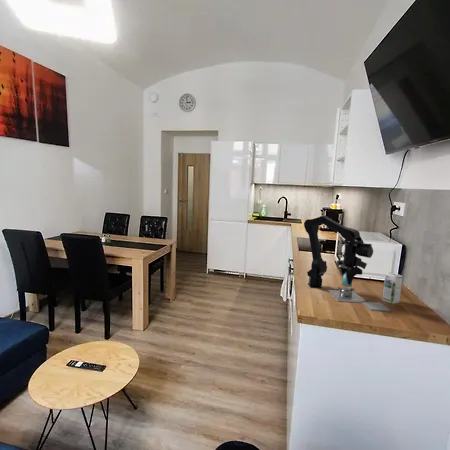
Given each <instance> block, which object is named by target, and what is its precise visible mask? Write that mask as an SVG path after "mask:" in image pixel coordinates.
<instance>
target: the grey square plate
mask: <svg viewBox="0 0 450 450" xmlns="http://www.w3.org/2000/svg"><path fill="white" fill-rule="evenodd" d="M355 290H356V289H355V287H351V288H350V287H341V286H338V287H337V289H328V290H327V293H329V294H330V296H332V298H333V299H335V301H336V302H346V303H347V302H348V303H362V304H363V302H366V300H365V298H364V299H363V298H362V297H361V296H360V295H358V293H356V292H355Z"/></svg>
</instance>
